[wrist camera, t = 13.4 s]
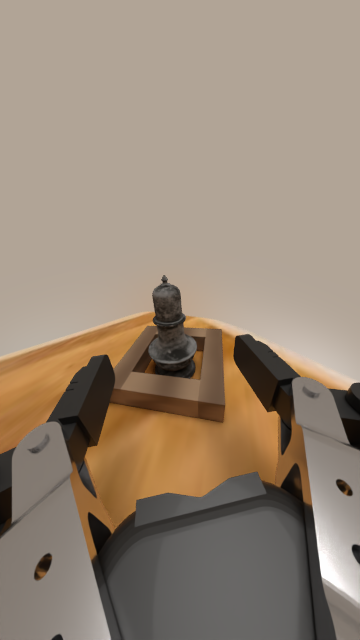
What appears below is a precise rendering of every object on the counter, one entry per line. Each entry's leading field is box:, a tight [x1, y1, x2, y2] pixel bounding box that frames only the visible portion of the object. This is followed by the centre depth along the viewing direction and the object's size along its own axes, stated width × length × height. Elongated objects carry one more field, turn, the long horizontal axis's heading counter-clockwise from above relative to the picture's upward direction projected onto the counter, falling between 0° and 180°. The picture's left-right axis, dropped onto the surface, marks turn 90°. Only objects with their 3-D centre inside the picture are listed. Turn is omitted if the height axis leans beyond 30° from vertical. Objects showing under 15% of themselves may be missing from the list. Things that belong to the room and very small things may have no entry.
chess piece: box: [148, 275, 197, 379], centre depth 17 cm, size 6×6×12 cm
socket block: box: [110, 326, 225, 422], centre depth 20 cm, size 12×12×2 cm
